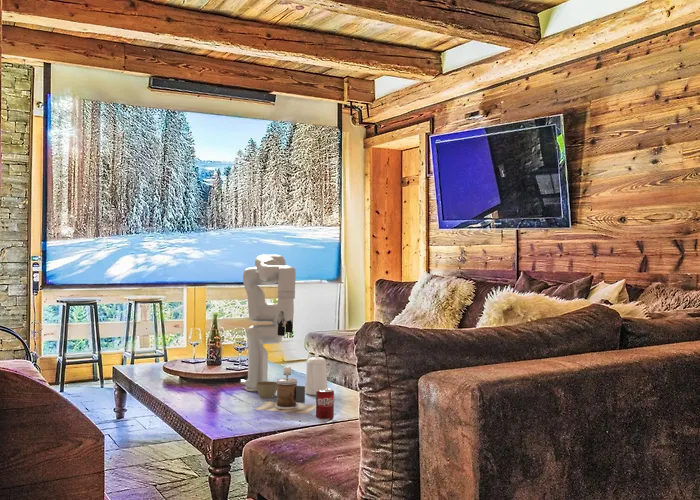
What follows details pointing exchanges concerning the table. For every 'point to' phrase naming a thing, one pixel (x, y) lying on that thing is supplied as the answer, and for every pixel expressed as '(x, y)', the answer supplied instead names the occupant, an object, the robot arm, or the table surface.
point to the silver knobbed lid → (286, 380)
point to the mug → (289, 396)
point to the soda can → (325, 404)
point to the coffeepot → (315, 375)
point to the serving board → (301, 409)
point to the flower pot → (266, 389)
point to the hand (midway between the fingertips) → (285, 333)
